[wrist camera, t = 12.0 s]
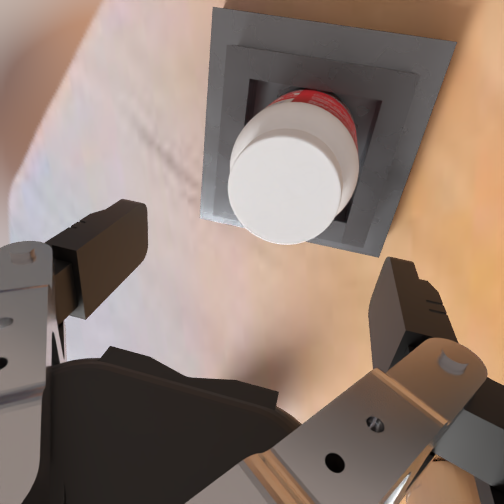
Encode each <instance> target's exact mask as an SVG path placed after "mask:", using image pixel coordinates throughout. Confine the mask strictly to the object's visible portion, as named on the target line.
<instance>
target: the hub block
mask: <svg viewBox="0 0 504 504" xmlns="http://www.w3.org/2000/svg"><path fill="white" fill-rule="evenodd" d="M456 44H457V42H453V41H446V40H439V39H432V38H425V37H419V36H412V35H405V34H398V33H391V32H384V31H377V30H370V29H363V28H356V27H349V26H342V25H335V24H328V23H321V22H314V21H308V20H301V19H294V18H287V17H280V16H273V15H266V14H259V13H252V12H245V11H238V10H231V9H224V8H217V7H213V12H212V29H211V45H210V61H209V77H208V93H207V109H206V126H205V142H204V158H203V174H202V190H201V206H200V218H201V219H205V220H210V221H215V222H219V223H224V224H228V225H233V226H237V227H242V228H245V227H244V226H243V225H242V224H241V222H240V221H239V220H238V218H237V217H236V215H235V214H234V211H233V209H232V207H231V204H230V201H229V196H228V179H229V174H230V159H231V153H232V150H233V147H234V144H235V141H236V139H237V137H238V136H239V134H240V132H241V131H242V129H243V128H244V127H245V126H246V124H247V123H248V122H249V121H250V120H251V119H252V118H253V117H254V116H255V115H257V114H258V113H259V112H260V111H262V110H263V109H264V108H266V107H267V106H268V105H269V104H271V103H272V102H273V101H275V100H276V99H277V98H279V97H280V96H282V95H283V94H285V93H287V92H289V91H292V90H294V89H298V88H309V89H315V90H321V91H327V92H331V93H333V94H335V95H336V96H337V97H339V98H340V99H341V100H342V101H343V102H344V103H345V104H346V106H347V107H348V109H349V110H350V112H351V114H352V117H353V119H354V123H355V127H356V136H357V146H358V157H359V173H358V179H357V183H356V187H355V190H354V192H353V194H352V197H351V198H350V200H349V201H348V203H347V205H346V206H345V207H344V208H343V210H342V211H341V212H340V213H339V214H337V215H336V216H335V218H334V220H333V221H332V222H331V224H330V225H329V226H328V227H327V228H326V229H325V230H324V231H323V232H322V233H321V234H319V235H318V236H316V237H314V238H312V239H310V240H308V241H306V242H310V243H315V244H319V245H324V246H328V247H333V248H337V249H342V250H347V251H351V252H356V253H360V254H365V255H369V256H374V257H378V258H379V256H380V253H381V250H382V247H383V245H384V242H385V239H386V236H387V234H388V231H389V228H390V225H391V223H392V220H393V217H394V214H395V212H396V209H397V206H398V203H399V201H400V198H401V195H402V192H403V190H404V187H405V184H406V181H407V179H408V176H409V173H410V170H411V168H412V165H413V162H414V159H415V157H416V154H417V151H418V148H419V146H420V143H421V140H422V137H423V135H424V132H425V129H426V126H427V123H428V121H429V118H430V115H431V112H432V110H433V107H434V104H435V101H436V99H437V96H438V93H439V90H440V88H441V85H442V82H443V79H444V77H445V74H446V71H447V68H448V66H449V63H450V60H451V57H452V55H453V52H454V49H455V46H456Z"/></svg>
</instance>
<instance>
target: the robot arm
mask: <svg viewBox="0 0 504 504" xmlns="http://www.w3.org/2000/svg"><path fill="white" fill-rule="evenodd" d="M147 249H148V222H147V207H146V205H145V204H144V203H139V202H134V201H130V200H125V199H121V200H119V201H118V202H116V203H115V204H113V205H112V206H110V207H109V208H107V209H106V210H102V211H98V212H95V213H92V214H89V215H88V216H86V217H85V218H83V219H81V220H80V222H77V223H75V224H74V225H72V226H71V228H67V229H66V230H64V231H62V232H61V233H59V234H58V235H56V236H54V237H53V238H51V239H50V240H48V241H46V242H45V243H42V242H37V241H23V242H16V243H12V244H8V245H6V246H3V247H1V248H0V504H399V503H400V501H401V500H402V499H403V498H404V496H405V495H406V502H407V504H504V385H501V384H499V383H497V382H495V381H493V380H491V379H490V378H488V377H487V369H486V367H485V365H484V363H483V362H482V361H481V359H480V358H479V357H478V356H477V355H476V354H475V353H473V352H472V351H471V350H469V349H468V348H466V347H465V346H463V345H461V344H459V343H458V341H457V338H456V336H455V333H454V331H453V328H452V326H451V323H450V321H449V318H448V315H446V310H445V308H444V306H442V305H443V303H442V300H441V298H440V295H439V292H438V291H437V290H436V289H435V288H434V287H433V286H432V285H431V284H430V283H429V282H428V281H425V280H420V279H419V277H418V274H417V271H416V268H415V265H414V263H413V262H411V261H407V260H402V259H397V258H393V257H387V258H386V260H385V262H384V264H383V267H382V270H381V272H380V275H379V278H378V281H377V283H376V286H375V289H374V292H373V294H372V297H371V301H370V305H369V313H368V317H369V328H370V340H371V351H372V362H373V370H372V371H370V372H369V373H368V374H366V375H365V376H364V377H363V378H361V379H360V380H359V381H357V382H356V383H355V384H354V385H352V386H351V387H350V388H348V389H347V390H346V391H345V392H343V393H342V394H341V395H339V396H338V397H337V398H336V399H334V400H333V401H332V402H330V403H329V404H328V405H326V406H325V407H324V408H323V409H321V410H320V411H319V412H317V413H316V414H315V415H314V416H312V417H311V418H310V419H308V420H307V421H306V422H305V423H303V424H301V423H300V422H299V421H297V420H296V419H295V418H294V417H293V416H291V415H290V414H288V413H287V412H285V411H284V410H282V409H280V408H279V407H277V406H276V403H277V398H278V393H279V392H277V391H273V390H270V389H266V388H262V387H259V386H255V385H251V384H248V383H244V382H240V381H237V380H224V379H206V378H191V377H186V376H184V375H182V374H180V373H178V372H176V371H175V370H173V369H171V368H169V367H167V366H166V365H164V364H162V363H160V362H158V361H156V360H155V359H153V358H151V357H149V356H145V355H141V354H138V353H134V352H130V351H127V350H123V349H119V348H116V347H112V346H110V347H109V348H108V349H107V351H106V352H105V353H104V354H103V356H102V357H101V358H87V359H78V360H72V361H68V362H67V355H66V328H65V322H64V319H66V318H67V317H68V316H69V315H70V316H73V317H77V318H81V319H85V320H86V319H87V318H88V317H89V316H90V315H91V314H92V313H93V312H94V311H95V310H96V309H97V308H98V306H99V305H100V304H101V303H102V302H103V301H104V300H105V299H106V298H107V297H108V296H109V295H110V294H111V293H112V292H113V291H114V290H115V289H116V288H117V287H118V286H119V285H120V284H121V283H122V282H123V281H124V280H125V279H126V278H127V277H128V276H129V275H130V274H131V273H132V272H133V271H134V270H135V269H136V268H137V267H138V266H139V265H140V263H141V262H142V261H143V260H144V258H145V256H146V253H147ZM437 455H438V456H440V457H442V458H444V459H445V460H447V461H433V459H434V458H435V457H436V456H437ZM432 461H433V462H432Z"/></svg>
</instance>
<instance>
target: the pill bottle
mask: <svg viewBox="0 0 504 504" xmlns="http://www.w3.org/2000/svg"><path fill="white" fill-rule="evenodd" d="M358 173H359V157H358V146H357V136H356V127H355V123H354V119H353V117H352V114H351V112H350V110H349V109H348V107H347V106H346V104H345V103H344V102H343V101H342V100H341V99H340V98H339V97H337V96H336V95H335V94H333V93H331V92H327V91H321V90H315V89H309V88H298V89H294V90H292V91H289V92H287V93H285V94H283V95H282V96H280V97H279V98H277V99H276V100H275V101H273V102H272V103H271V104H269V105H268V106H267V107H266V108H264V109H263V110H262V111H260V112H259V113H258V114H257V115H255V116H254V117H253V118H252V119H251V120H250V121H249V122H248V123H247V124H246V126H245V127H244V128H243V129H242V131H241V132H240V134H239V136H238V137H237V139H236V141H235V144H234V147H233V150H232V153H231V159H230V174H229V179H228V196H229V201H230V204H231V207H232V209H233V211H234V214H235V215H236V217H237V218H238V220H239V221H240V222H241V224H242V225H243V226H244V227H245V228H246V229H247V230H248V231H250V232H251V233H252V234H254V235H255V236H257V237H259V238H261V239H263V240H265V241H268V242H271V243H276V244H283V245H291V244H298V243H302V242H305V241H308V240H310V239H312V238H314V237H316V236H318V235H319V234H321V233H322V232H323V231H324V230H325V229H326V228H327V227H328V226H329V225H330V224H331V222H332V221H333V220H334V218H335V216H336V215H337V214H339V213H340V212H341V211H342V210H343V208H344V207H345V206H346V205H347V203H348V201H349V200H350V198H351V197H352V194H353V192H354V190H355V187H356V183H357V179H358Z"/></svg>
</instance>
